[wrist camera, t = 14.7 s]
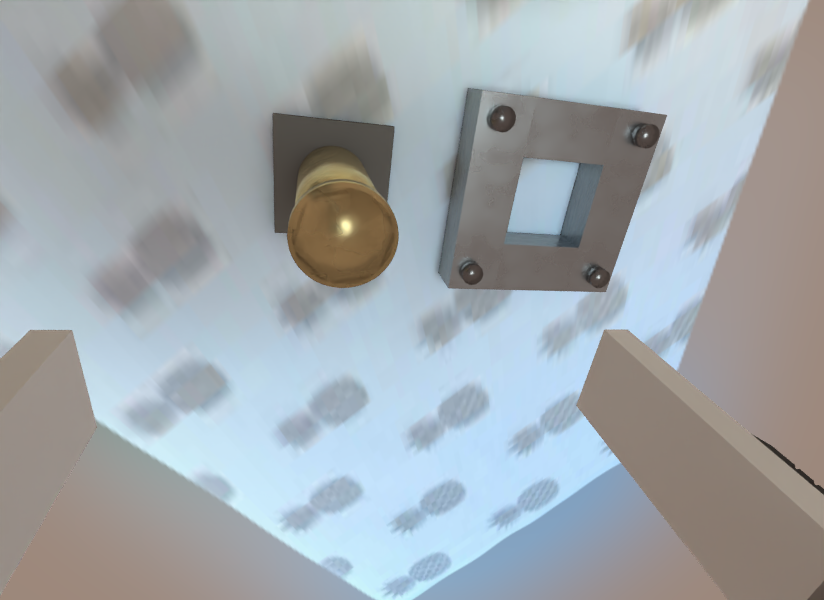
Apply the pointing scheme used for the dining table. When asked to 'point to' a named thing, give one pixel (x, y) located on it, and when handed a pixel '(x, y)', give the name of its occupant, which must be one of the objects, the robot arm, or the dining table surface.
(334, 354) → the dining table surface
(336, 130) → the mat
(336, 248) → the brass-coloured knob
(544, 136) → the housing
